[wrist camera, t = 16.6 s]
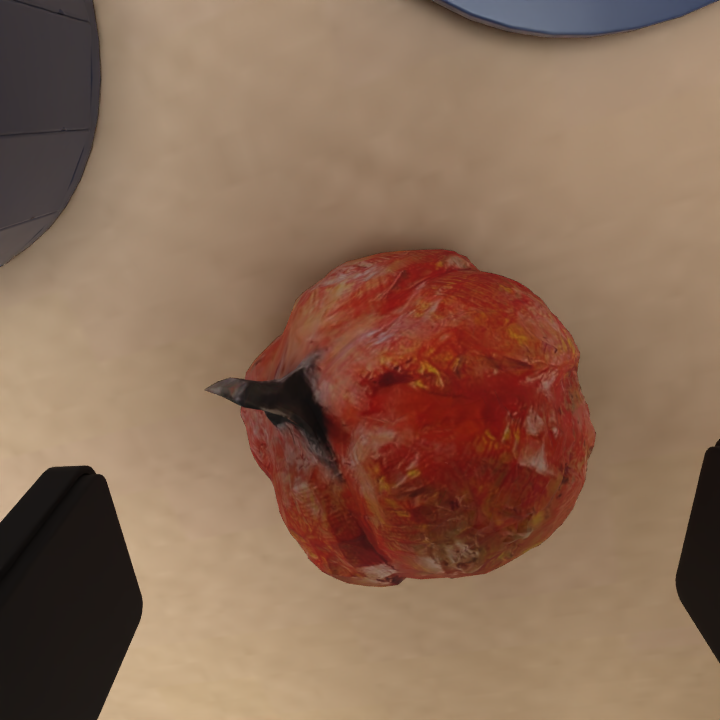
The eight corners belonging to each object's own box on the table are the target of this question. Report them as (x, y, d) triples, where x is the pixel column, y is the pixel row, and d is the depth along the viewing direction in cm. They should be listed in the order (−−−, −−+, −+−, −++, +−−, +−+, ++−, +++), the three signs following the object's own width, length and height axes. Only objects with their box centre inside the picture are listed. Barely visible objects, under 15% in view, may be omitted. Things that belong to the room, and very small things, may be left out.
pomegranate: (553, 276, 17) (348, 64, 9) (712, 499, 13) (580, 443, 6) (373, 406, 20) (107, 325, 12) (459, 619, 16) (151, 688, 9)
